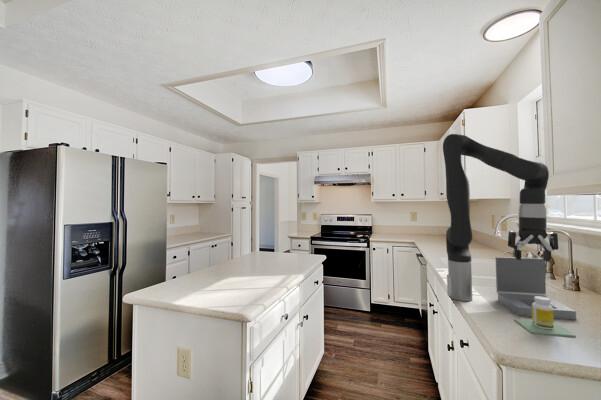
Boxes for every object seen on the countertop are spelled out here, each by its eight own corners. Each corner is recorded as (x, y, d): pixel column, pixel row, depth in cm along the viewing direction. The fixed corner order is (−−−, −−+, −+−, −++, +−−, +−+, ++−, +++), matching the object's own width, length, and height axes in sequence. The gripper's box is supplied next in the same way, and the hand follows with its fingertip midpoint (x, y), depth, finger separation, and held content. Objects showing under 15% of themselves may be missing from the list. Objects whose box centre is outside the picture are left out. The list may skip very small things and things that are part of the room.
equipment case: (519, 315, 99) (517, 266, 99) (496, 299, 116) (495, 257, 116) (576, 319, 95) (574, 267, 95) (544, 302, 111) (543, 258, 112)
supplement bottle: (558, 330, 86) (557, 300, 86) (542, 330, 86) (541, 301, 87) (543, 322, 92) (542, 295, 92) (528, 322, 92) (527, 295, 92)
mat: (531, 333, 85) (531, 331, 85) (514, 320, 95) (514, 318, 95) (575, 337, 83) (575, 335, 83) (553, 323, 92) (553, 321, 92)
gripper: (514, 216, 92) (515, 261, 92) (563, 217, 89) (563, 264, 88) (504, 215, 99) (504, 257, 99) (548, 216, 96) (549, 259, 96)
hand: (532, 260), depth 94 cm, fingers open, 8 cm apart
